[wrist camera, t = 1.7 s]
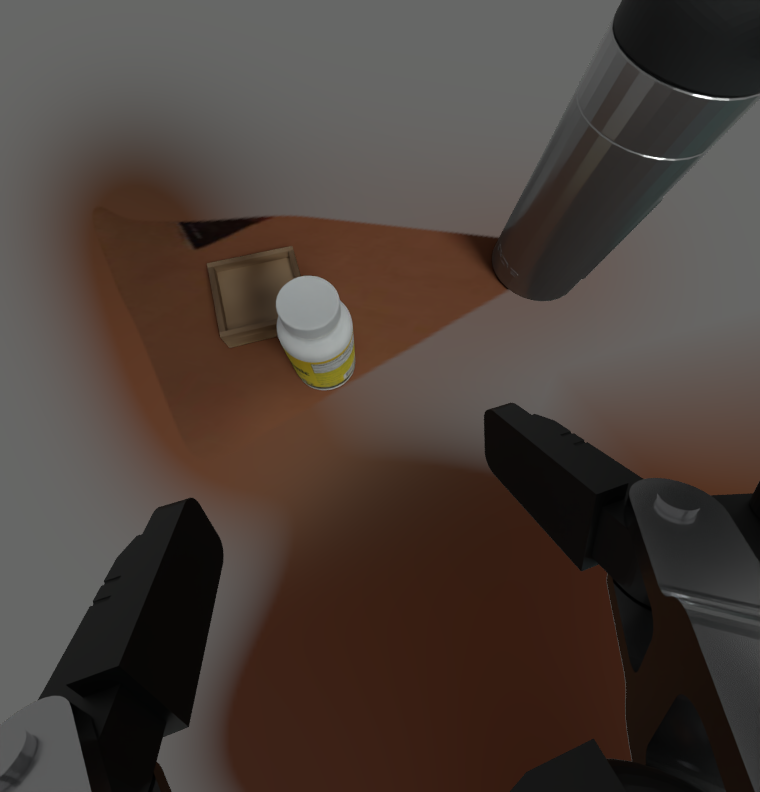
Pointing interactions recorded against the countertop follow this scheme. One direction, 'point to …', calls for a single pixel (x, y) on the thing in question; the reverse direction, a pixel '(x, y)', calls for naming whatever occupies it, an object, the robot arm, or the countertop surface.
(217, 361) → the countertop surface
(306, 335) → the supplement bottle
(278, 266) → the wooden tray
